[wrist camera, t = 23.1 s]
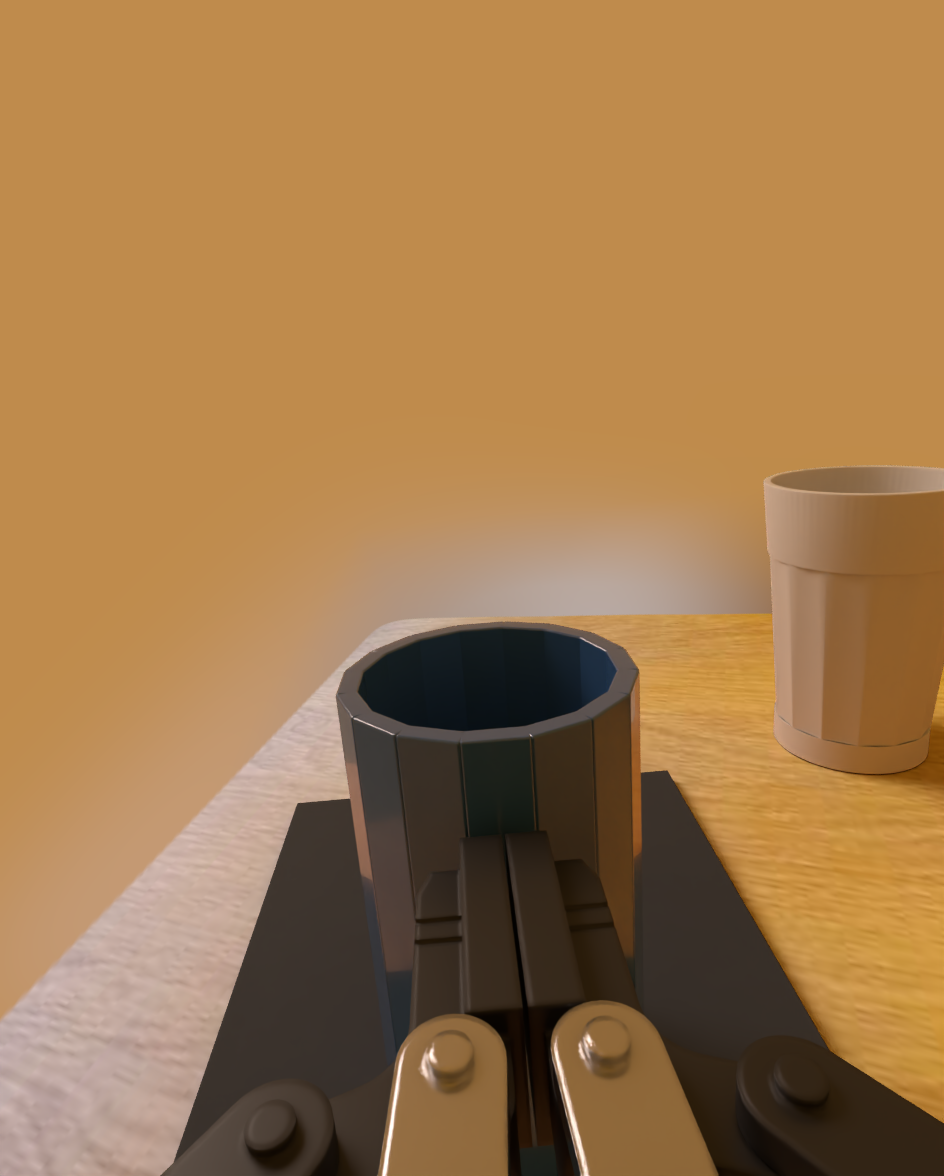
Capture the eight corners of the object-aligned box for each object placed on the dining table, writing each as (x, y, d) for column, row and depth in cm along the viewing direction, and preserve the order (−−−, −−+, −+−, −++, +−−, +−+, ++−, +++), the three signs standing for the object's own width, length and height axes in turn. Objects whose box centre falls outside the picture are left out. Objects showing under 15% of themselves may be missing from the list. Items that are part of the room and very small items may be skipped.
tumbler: (385, 1227, 15) (313, 755, 12) (403, 990, 21) (357, 632, 18) (675, 1200, 15) (677, 724, 12) (612, 971, 21) (601, 612, 18)
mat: (117, 1351, 14) (112, 1337, 14) (298, 810, 31) (297, 802, 31) (945, 1267, 14) (947, 1252, 14) (667, 777, 31) (667, 770, 31)
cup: (718, 727, 35) (723, 482, 32) (832, 688, 38) (848, 461, 35) (867, 805, 28) (893, 502, 25) (991, 749, 31) (1029, 473, 28)
